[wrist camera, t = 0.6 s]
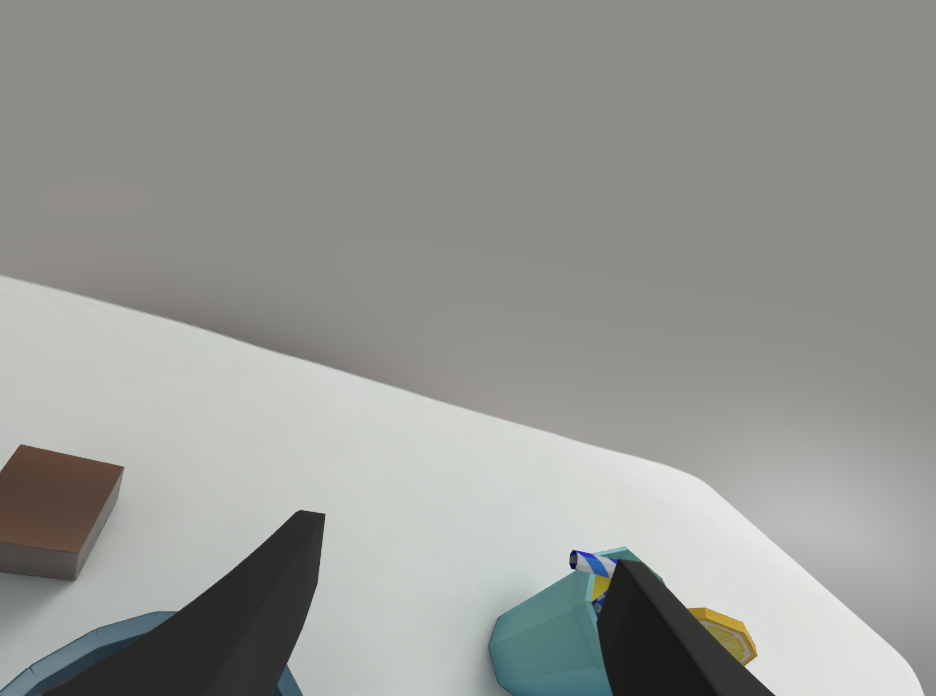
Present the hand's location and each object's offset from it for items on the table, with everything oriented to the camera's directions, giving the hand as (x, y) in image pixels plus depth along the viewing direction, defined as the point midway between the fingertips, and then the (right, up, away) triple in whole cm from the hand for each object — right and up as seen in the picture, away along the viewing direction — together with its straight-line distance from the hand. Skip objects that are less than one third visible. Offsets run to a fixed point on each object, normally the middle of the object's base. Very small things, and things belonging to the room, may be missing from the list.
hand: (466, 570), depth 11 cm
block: (-20, -3, +11) cm, 23 cm away
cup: (+3, -15, +20) cm, 25 cm away
